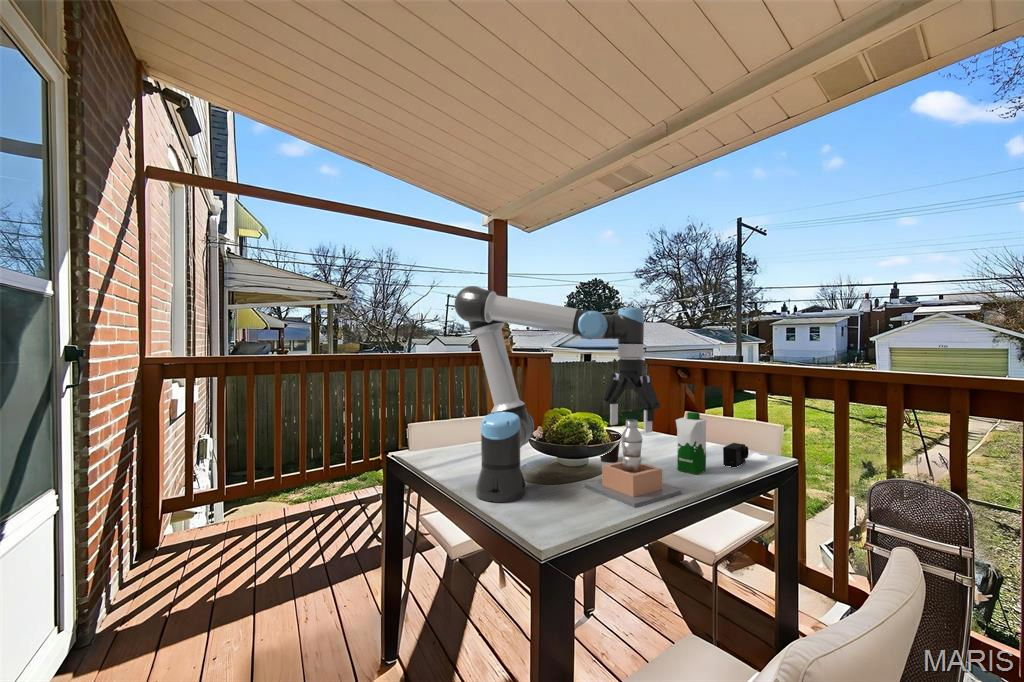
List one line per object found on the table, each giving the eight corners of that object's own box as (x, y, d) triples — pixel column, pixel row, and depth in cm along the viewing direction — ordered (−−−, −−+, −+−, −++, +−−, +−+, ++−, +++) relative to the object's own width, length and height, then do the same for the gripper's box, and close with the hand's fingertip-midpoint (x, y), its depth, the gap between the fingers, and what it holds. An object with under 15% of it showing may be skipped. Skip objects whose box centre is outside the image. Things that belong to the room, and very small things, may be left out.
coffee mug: (615, 464, 158) (614, 437, 158) (593, 461, 163) (593, 434, 163) (627, 458, 167) (627, 432, 167) (606, 454, 172) (606, 430, 172)
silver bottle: (645, 485, 131) (645, 420, 132) (639, 491, 125) (639, 422, 126) (624, 482, 135) (624, 418, 135) (617, 487, 129) (618, 420, 130)
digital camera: (739, 469, 152) (739, 449, 152) (723, 466, 156) (723, 447, 156) (749, 463, 159) (748, 444, 159) (733, 460, 163) (733, 442, 163)
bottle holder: (634, 507, 116) (634, 481, 116) (584, 487, 133) (584, 464, 133) (681, 493, 127) (681, 470, 127) (630, 476, 144) (629, 455, 144)
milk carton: (709, 470, 150) (708, 413, 150) (698, 476, 144) (697, 416, 144) (685, 465, 156) (684, 410, 156) (673, 470, 150) (672, 413, 150)
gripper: (673, 359, 122) (672, 434, 122) (610, 357, 143) (609, 420, 143) (655, 360, 118) (655, 437, 118) (593, 357, 139) (592, 422, 139)
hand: (630, 428), depth 130 cm, fingers open, 13 cm apart
